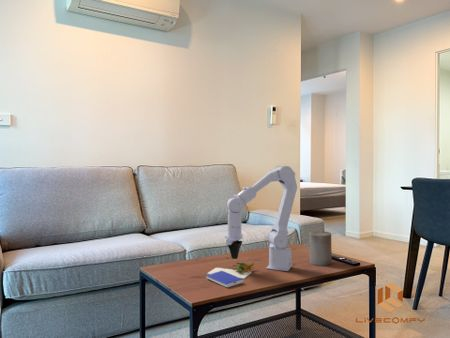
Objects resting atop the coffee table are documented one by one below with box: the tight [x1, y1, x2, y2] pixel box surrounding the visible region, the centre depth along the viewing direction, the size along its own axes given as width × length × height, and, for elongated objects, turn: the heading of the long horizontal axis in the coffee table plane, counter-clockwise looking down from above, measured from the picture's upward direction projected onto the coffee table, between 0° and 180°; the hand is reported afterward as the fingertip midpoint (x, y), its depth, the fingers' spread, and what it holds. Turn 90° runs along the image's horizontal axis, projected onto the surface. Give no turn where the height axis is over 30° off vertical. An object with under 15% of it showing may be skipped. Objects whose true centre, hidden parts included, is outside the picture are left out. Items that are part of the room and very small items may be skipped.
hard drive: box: [205, 271, 244, 288], centre depth 139 cm, size 2×8×12 cm
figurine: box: [232, 262, 255, 273], centre depth 151 cm, size 3×12×8 cm
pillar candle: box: [308, 230, 333, 267], centre depth 165 cm, size 10×10×15 cm
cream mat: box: [206, 267, 252, 280], centre depth 149 cm, size 16×9×1 cm, turn 67°
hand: (234, 258), depth 154 cm, fingers closed
